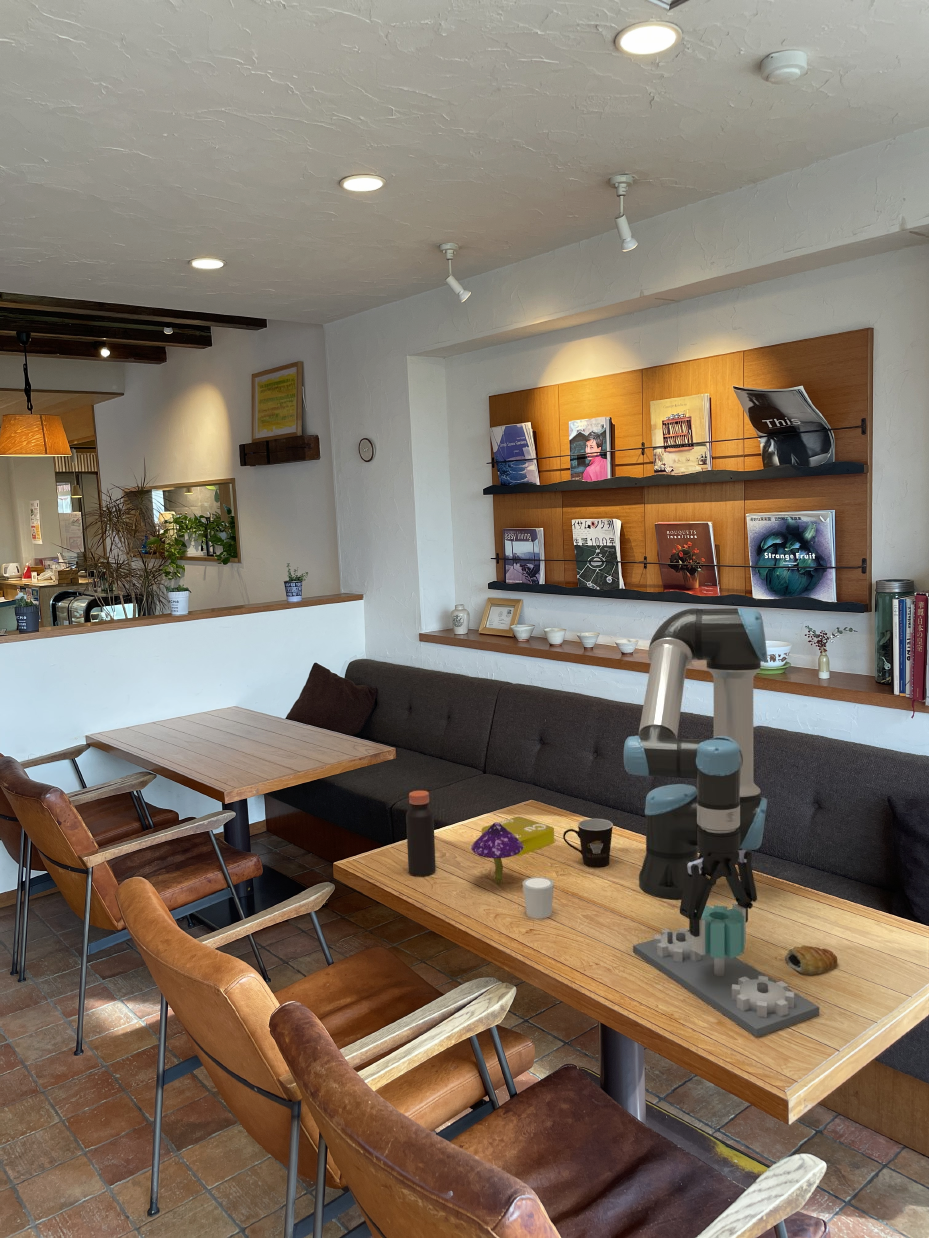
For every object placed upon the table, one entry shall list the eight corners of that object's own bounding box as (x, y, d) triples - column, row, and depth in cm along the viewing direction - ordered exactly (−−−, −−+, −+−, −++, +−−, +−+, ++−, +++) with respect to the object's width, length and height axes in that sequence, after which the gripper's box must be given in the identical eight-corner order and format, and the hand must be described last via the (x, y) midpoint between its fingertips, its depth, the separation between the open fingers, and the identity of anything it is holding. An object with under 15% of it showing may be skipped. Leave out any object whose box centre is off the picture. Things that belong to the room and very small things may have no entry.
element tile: (519, 830, 255) (518, 813, 254) (557, 843, 243) (557, 826, 243) (478, 843, 245) (478, 826, 245) (516, 858, 234) (516, 840, 233)
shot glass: (552, 920, 196) (551, 889, 195) (521, 919, 197) (520, 888, 197) (556, 907, 203) (555, 877, 202) (525, 905, 204) (524, 875, 203)
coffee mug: (618, 860, 229) (618, 821, 228) (605, 872, 221) (605, 832, 220) (575, 852, 235) (575, 815, 234) (562, 864, 227) (561, 825, 226)
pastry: (822, 954, 177) (822, 935, 177) (846, 970, 171) (847, 951, 171) (781, 962, 175) (781, 944, 174) (804, 979, 168) (804, 960, 168)
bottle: (433, 877, 222) (429, 797, 220) (405, 876, 223) (402, 797, 221) (438, 866, 229) (435, 789, 226) (411, 866, 230) (408, 789, 228)
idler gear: (721, 932, 173) (721, 901, 173) (754, 951, 165) (754, 919, 165) (684, 942, 169) (684, 911, 169) (716, 962, 162) (716, 930, 161)
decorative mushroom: (461, 883, 218) (459, 822, 216) (499, 868, 226) (497, 810, 224) (497, 898, 208) (495, 835, 207) (535, 882, 216) (534, 821, 215)
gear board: (689, 936, 186) (689, 896, 186) (819, 1015, 156) (819, 968, 155) (633, 952, 180) (632, 911, 180) (756, 1037, 150) (756, 989, 149)
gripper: (684, 843, 157) (685, 968, 159) (778, 822, 166) (778, 940, 169) (657, 831, 164) (658, 950, 166) (749, 811, 173) (749, 925, 175)
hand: (719, 945), depth 167 cm, fingers closed on idler gear, 9 cm apart
